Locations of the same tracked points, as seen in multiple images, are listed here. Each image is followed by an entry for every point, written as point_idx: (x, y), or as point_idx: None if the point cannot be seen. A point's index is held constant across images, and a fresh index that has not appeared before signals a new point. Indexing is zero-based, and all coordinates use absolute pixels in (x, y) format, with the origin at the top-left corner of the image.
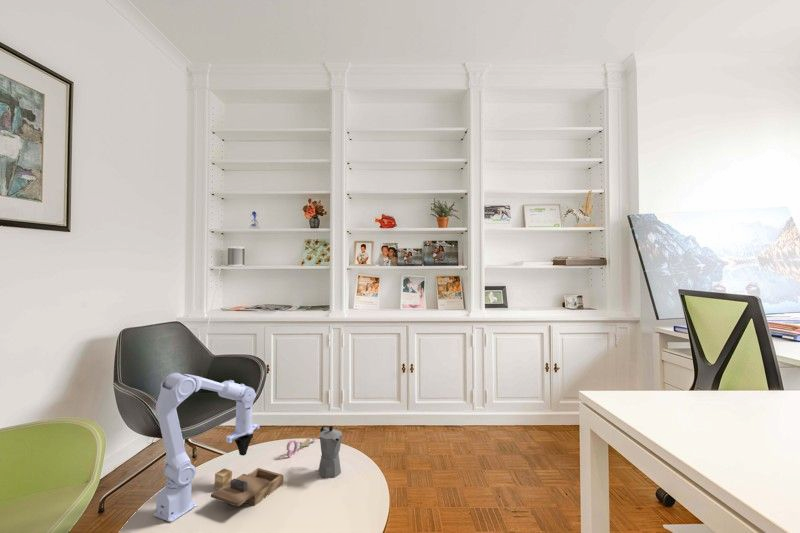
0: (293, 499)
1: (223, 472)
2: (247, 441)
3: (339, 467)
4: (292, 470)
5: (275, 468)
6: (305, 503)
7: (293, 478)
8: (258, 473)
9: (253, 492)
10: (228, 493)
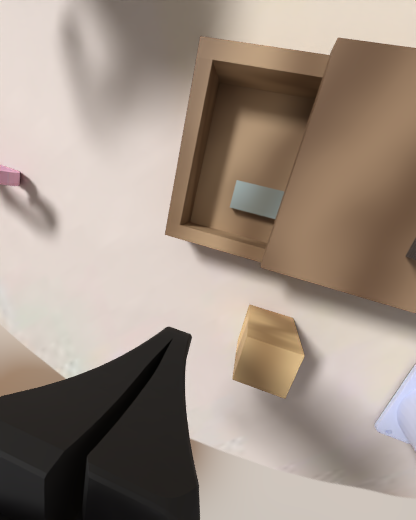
0: None
1: (269, 367)
2: (113, 408)
3: None
4: (97, 97)
5: (106, 189)
6: None
7: (153, 45)
8: (186, 221)
9: None
10: None
